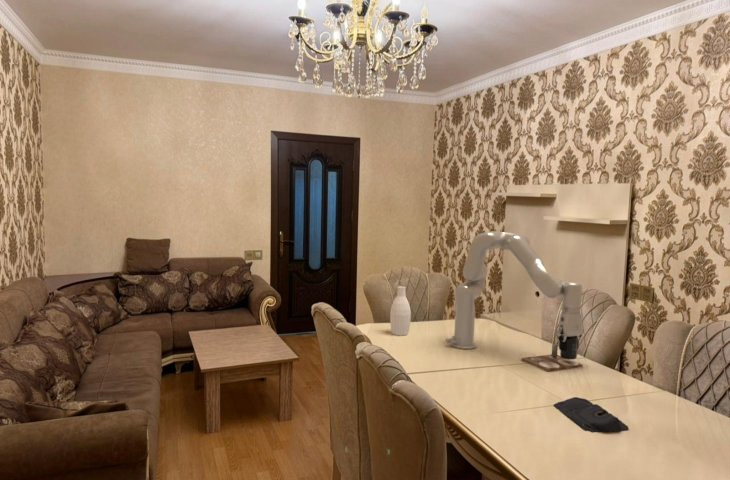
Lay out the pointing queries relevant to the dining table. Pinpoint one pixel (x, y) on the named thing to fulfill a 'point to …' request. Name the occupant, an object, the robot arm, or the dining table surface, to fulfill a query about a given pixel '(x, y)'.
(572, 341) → the supplement bottle
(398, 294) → the bottle
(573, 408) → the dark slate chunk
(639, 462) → the dining table surface
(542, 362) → the board
